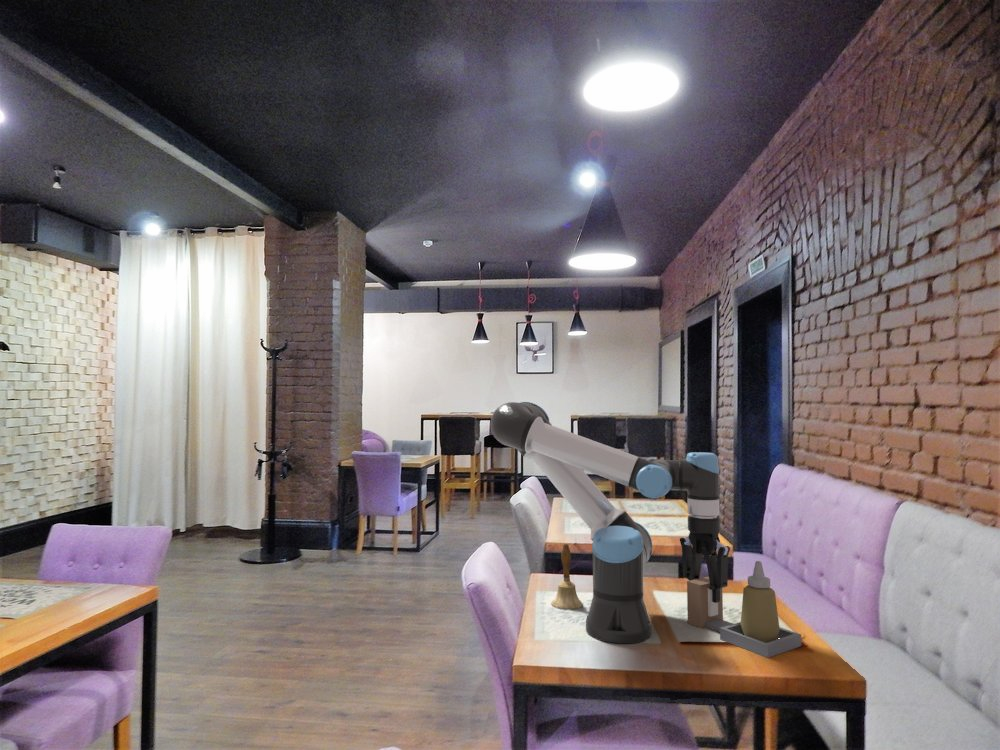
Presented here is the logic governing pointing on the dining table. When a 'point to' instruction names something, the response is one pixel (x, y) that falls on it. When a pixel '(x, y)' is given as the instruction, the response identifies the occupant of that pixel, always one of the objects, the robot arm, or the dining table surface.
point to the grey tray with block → (729, 631)
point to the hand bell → (566, 586)
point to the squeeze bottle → (759, 608)
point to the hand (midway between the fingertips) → (705, 612)
